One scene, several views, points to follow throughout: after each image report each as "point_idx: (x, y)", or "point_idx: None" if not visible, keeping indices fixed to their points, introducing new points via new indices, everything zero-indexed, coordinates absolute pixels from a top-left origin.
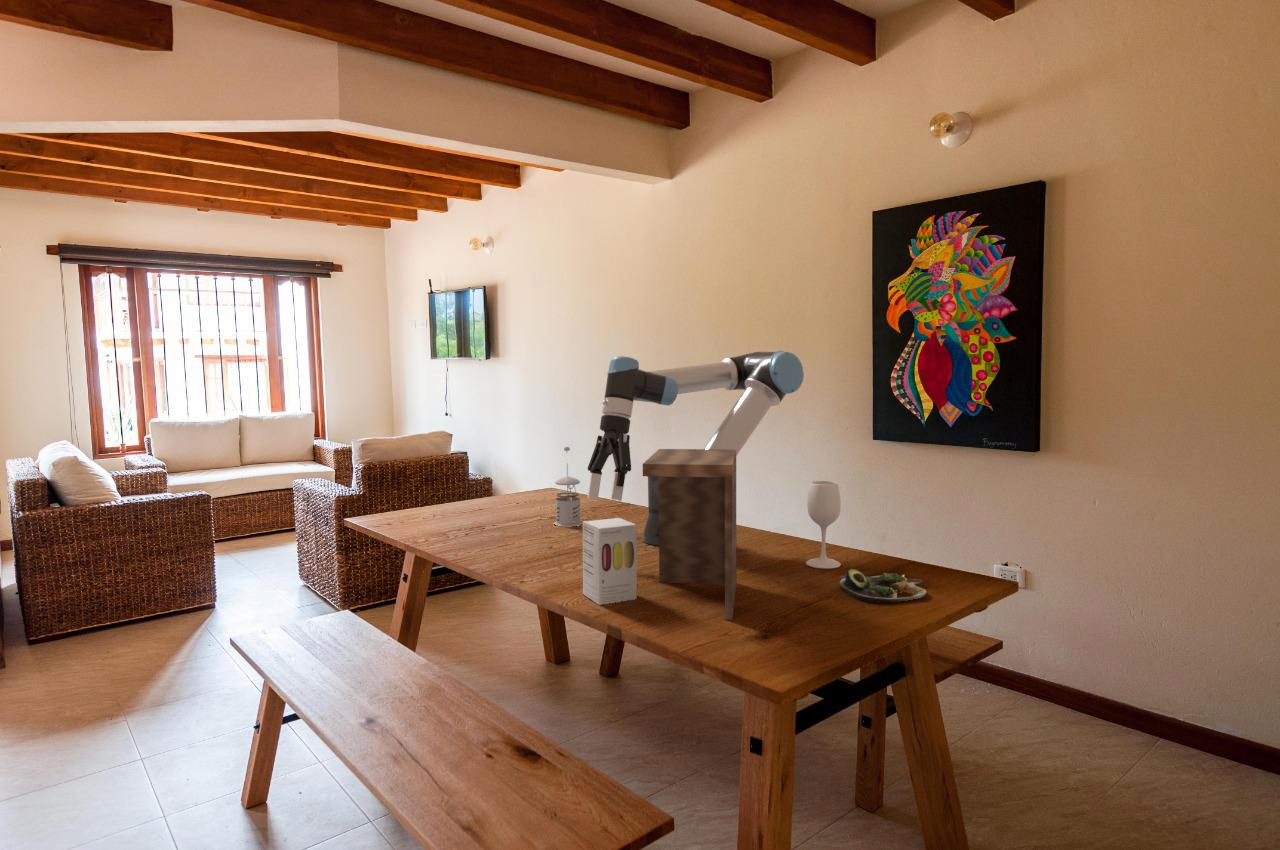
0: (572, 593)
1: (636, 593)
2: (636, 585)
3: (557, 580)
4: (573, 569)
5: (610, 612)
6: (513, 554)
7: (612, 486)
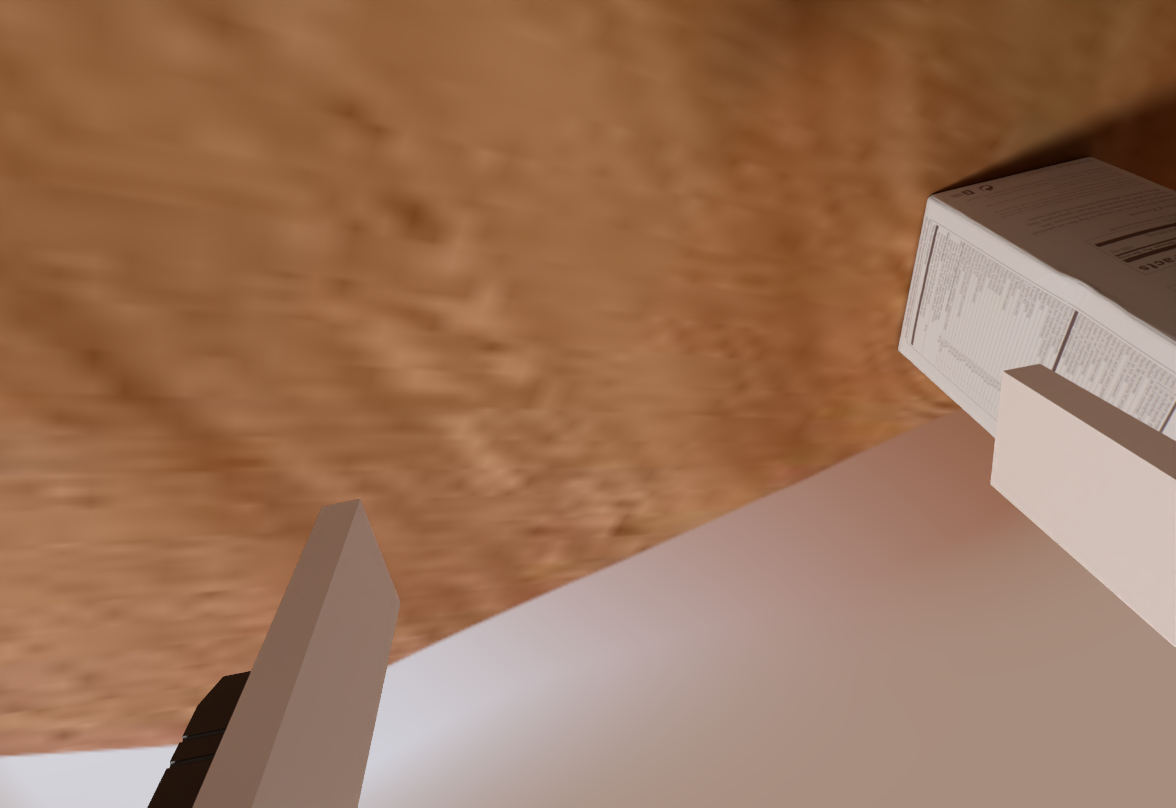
0: (857, 381)
1: (1113, 166)
2: (1147, 180)
3: (667, 423)
4: (514, 351)
5: None
6: (118, 594)
7: (1106, 578)
